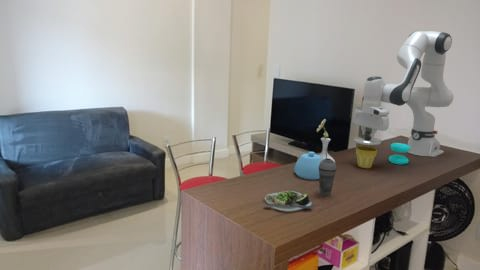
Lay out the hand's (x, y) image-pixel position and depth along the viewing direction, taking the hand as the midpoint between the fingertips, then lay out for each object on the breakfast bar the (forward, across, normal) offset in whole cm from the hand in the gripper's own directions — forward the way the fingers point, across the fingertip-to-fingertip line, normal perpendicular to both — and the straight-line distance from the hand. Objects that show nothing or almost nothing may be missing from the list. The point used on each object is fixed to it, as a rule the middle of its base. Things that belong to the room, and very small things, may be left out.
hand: (368, 135), depth 186 cm
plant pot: (+17, 0, 0) cm, 17 cm away
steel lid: (+3, 0, 0) cm, 3 cm away
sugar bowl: (+17, -3, -35) cm, 39 cm away
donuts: (+17, +4, +22) cm, 28 cm away
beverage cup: (+17, +18, -45) cm, 51 cm away
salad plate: (+17, +18, -64) cm, 69 cm away
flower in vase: (+17, -12, -18) cm, 27 cm away
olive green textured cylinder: (+16, -19, +21) cm, 32 cm away
